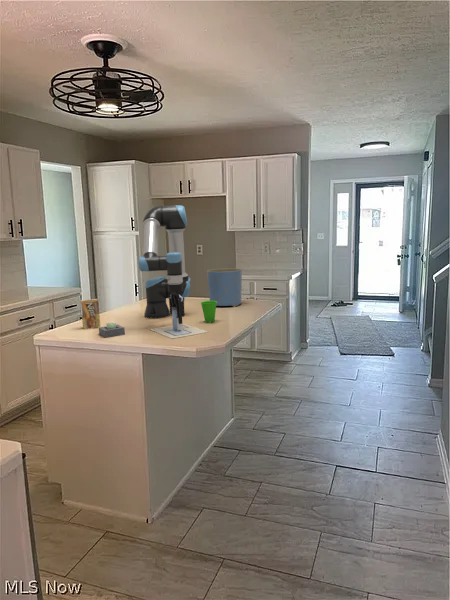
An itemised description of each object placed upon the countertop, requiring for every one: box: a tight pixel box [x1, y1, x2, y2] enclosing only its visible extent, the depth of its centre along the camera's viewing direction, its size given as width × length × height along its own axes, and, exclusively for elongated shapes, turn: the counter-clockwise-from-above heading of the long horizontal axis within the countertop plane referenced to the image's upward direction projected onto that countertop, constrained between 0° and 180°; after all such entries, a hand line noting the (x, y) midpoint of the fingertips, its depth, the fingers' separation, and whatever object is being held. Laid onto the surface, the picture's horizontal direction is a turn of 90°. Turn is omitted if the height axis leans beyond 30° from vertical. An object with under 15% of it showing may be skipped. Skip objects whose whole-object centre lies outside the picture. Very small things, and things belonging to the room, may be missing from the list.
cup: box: [200, 300, 217, 324], centre depth 252 cm, size 9×9×11 cm
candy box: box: [80, 298, 101, 330], centre depth 249 cm, size 9×4×15 cm, turn 116°
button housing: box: [98, 324, 126, 338], centre depth 231 cm, size 10×10×4 cm
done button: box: [105, 322, 117, 329], centre depth 231 cm, size 5×5×4 cm
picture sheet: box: [149, 323, 209, 340], centre depth 233 cm, size 26×20×1 cm
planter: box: [206, 267, 243, 308], centre depth 303 cm, size 23×23×24 cm
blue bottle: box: [171, 307, 181, 331], centre depth 232 cm, size 4×4×12 cm
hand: (178, 329), depth 233 cm, fingers closed on blue bottle, 4 cm apart
